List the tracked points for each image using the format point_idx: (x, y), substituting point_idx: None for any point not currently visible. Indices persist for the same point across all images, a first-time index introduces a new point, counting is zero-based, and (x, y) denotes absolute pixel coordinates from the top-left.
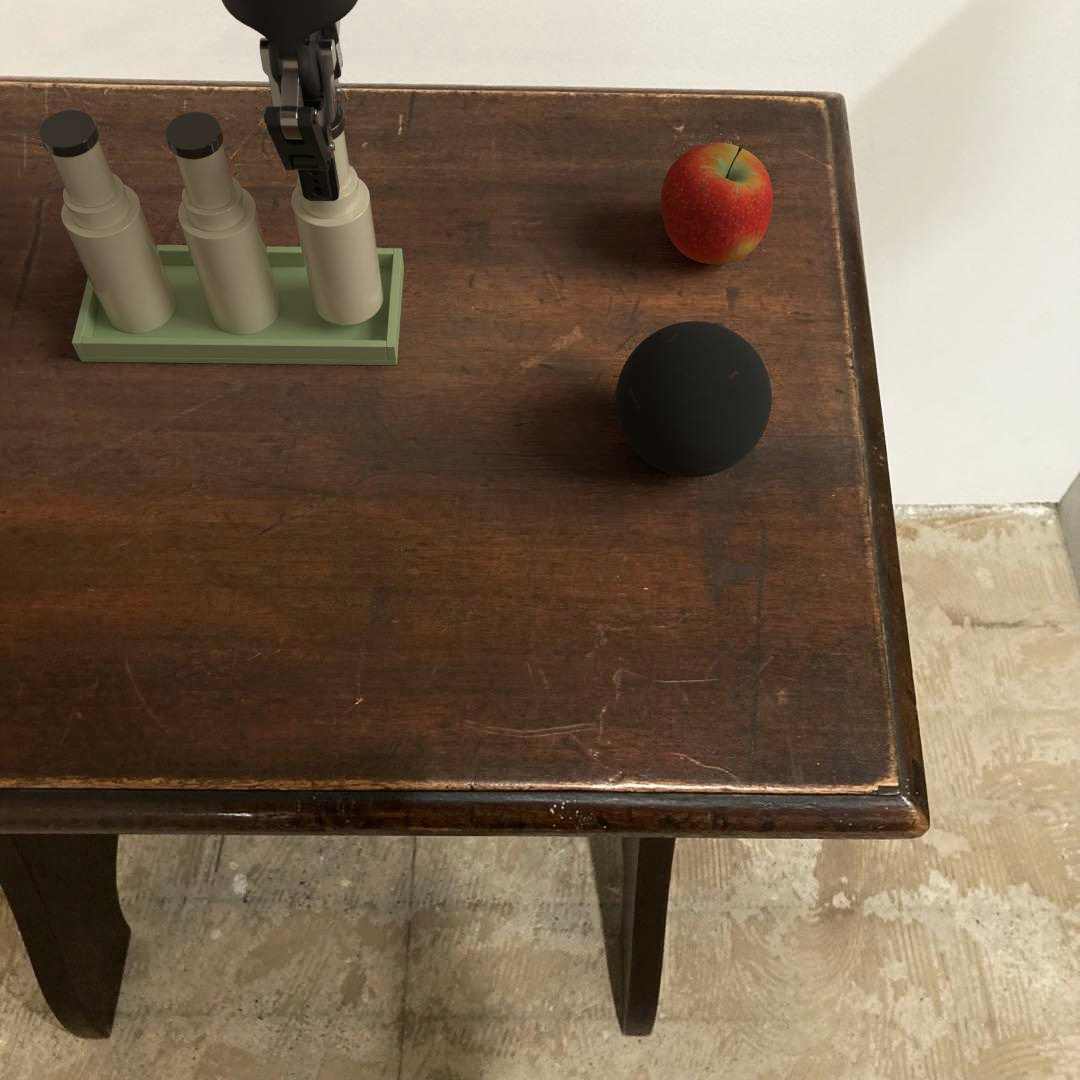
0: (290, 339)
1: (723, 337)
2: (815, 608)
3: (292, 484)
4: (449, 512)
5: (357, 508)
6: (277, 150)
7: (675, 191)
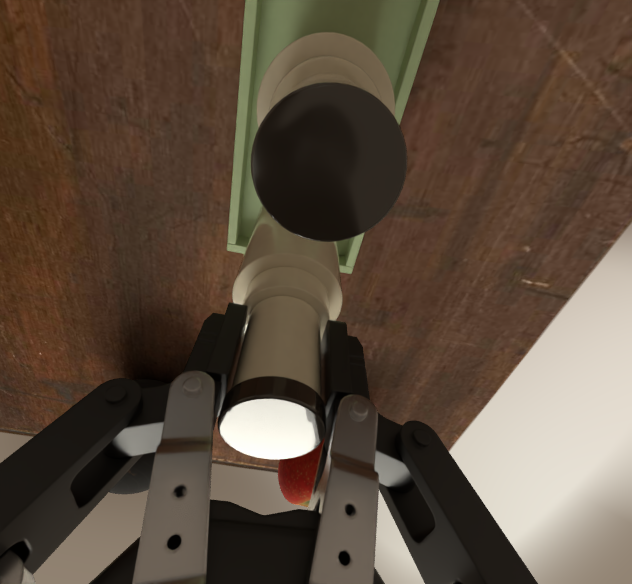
0: (243, 148)
1: (133, 492)
2: (50, 416)
3: (80, 116)
4: (76, 253)
5: (64, 179)
6: (3, 462)
7: (311, 472)
